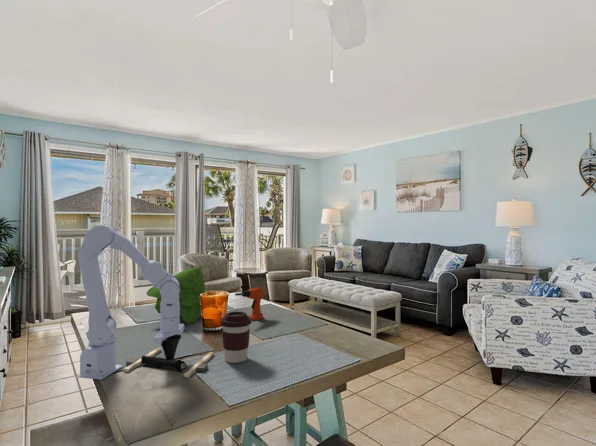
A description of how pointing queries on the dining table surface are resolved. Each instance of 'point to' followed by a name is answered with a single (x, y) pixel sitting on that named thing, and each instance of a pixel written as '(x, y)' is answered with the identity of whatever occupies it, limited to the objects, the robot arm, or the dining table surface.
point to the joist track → (136, 362)
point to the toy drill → (256, 296)
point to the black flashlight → (164, 363)
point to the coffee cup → (236, 336)
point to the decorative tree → (186, 294)
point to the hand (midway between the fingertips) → (170, 359)
